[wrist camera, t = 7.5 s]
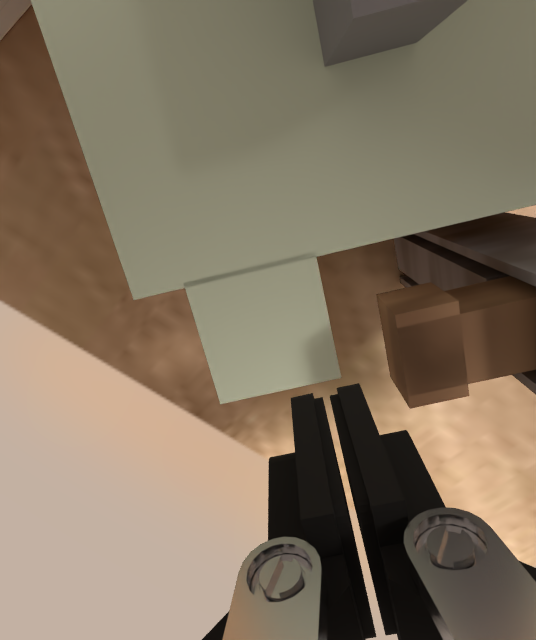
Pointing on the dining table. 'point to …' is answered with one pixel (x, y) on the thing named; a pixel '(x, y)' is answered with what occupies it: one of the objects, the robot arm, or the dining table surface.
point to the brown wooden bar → (457, 336)
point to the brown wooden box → (472, 257)
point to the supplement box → (11, 13)
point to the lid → (289, 148)
